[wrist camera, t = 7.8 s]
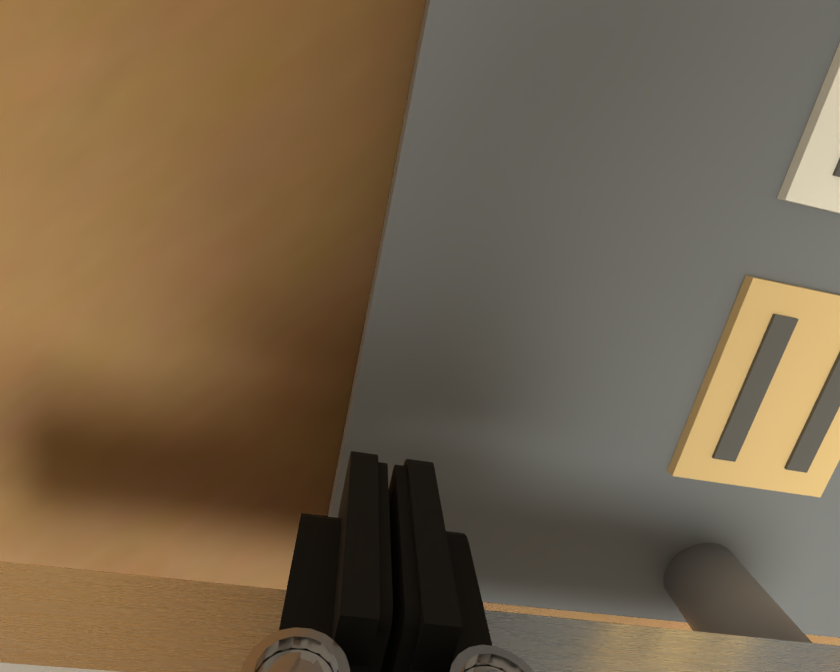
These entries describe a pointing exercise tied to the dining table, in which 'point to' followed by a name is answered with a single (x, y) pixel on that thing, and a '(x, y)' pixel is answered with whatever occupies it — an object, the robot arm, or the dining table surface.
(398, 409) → the label board
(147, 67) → the dining table surface
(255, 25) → the dining table surface
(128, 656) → the bar
